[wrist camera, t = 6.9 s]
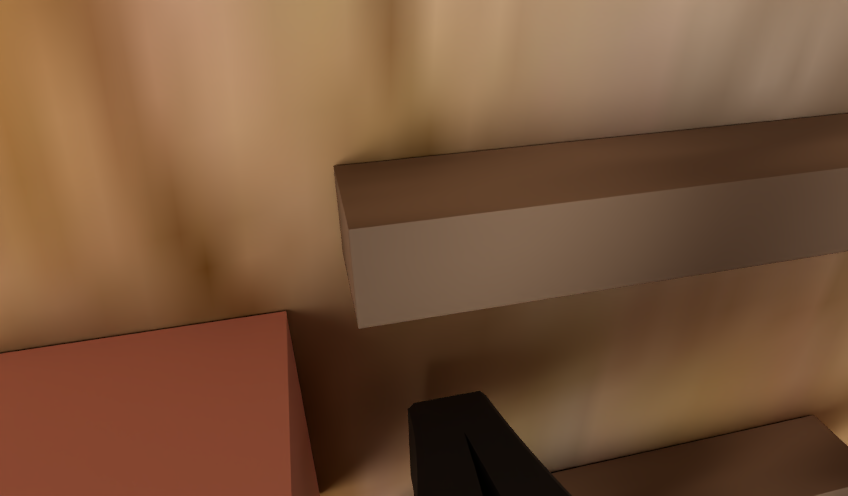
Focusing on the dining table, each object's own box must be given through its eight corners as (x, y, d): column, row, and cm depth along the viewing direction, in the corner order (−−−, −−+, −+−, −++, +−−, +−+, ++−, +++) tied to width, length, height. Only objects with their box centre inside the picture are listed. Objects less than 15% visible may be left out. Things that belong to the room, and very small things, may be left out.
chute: (971, 100, 10) (1104, 135, 9) (795, 452, 16) (857, 516, 14) (333, 165, 8) (348, 230, 6) (375, 551, 13) (390, 641, 12)
